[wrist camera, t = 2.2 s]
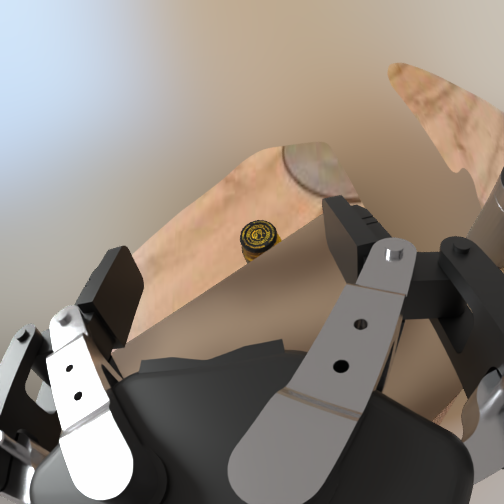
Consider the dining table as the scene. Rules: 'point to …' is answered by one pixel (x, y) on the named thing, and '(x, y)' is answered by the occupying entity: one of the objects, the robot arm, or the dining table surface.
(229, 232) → the dining table surface
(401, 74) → the dining table surface
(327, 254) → the cubby
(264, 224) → the condiment
